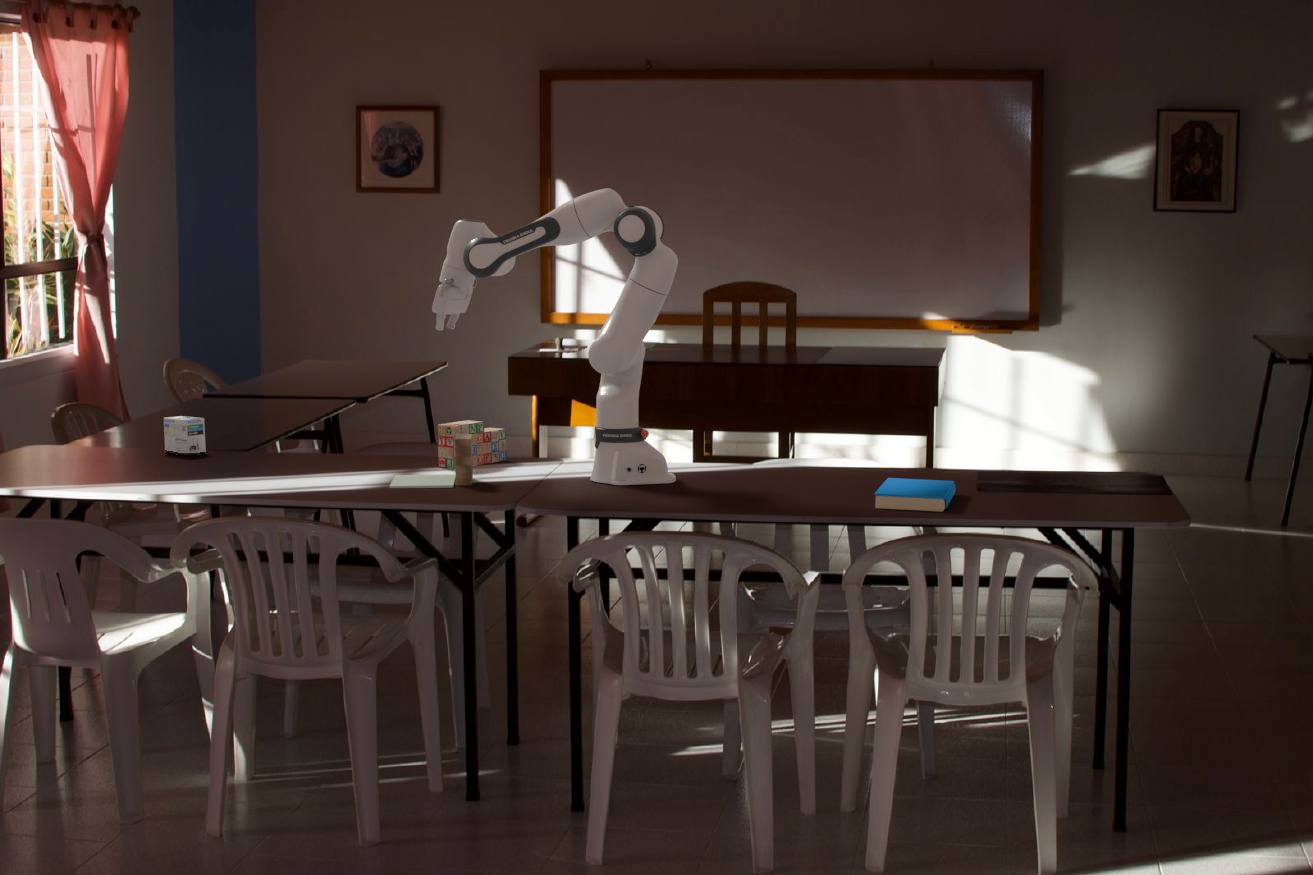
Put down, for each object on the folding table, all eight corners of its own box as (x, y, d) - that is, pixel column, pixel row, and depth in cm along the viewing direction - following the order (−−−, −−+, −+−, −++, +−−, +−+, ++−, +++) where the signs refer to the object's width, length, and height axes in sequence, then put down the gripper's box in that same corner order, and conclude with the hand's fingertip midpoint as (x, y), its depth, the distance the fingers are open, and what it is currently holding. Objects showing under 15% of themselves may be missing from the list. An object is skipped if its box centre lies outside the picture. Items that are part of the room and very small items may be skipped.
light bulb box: (206, 453, 432) (205, 417, 431) (188, 456, 427) (187, 419, 425) (182, 451, 438) (180, 415, 437) (163, 453, 432) (162, 417, 431)
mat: (456, 476, 390) (456, 474, 390) (453, 487, 373) (453, 485, 373) (395, 477, 389) (395, 475, 389) (389, 488, 371) (389, 486, 371)
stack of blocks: (490, 459, 424) (490, 416, 422) (506, 461, 420) (506, 418, 419) (437, 467, 407) (437, 423, 405) (453, 469, 403) (453, 425, 402)
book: (874, 493, 345) (886, 476, 369) (873, 511, 346) (886, 493, 370) (948, 497, 341) (956, 479, 364) (947, 515, 341) (955, 496, 365)
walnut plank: (472, 479, 387) (472, 434, 385) (471, 485, 377) (470, 438, 375) (457, 479, 386) (456, 434, 385) (455, 485, 377) (455, 439, 375)
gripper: (456, 282, 375) (443, 334, 378) (479, 281, 395) (466, 330, 398) (433, 275, 376) (420, 327, 378) (457, 275, 396) (445, 324, 398)
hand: (444, 329), depth 388 cm, fingers open, 8 cm apart
